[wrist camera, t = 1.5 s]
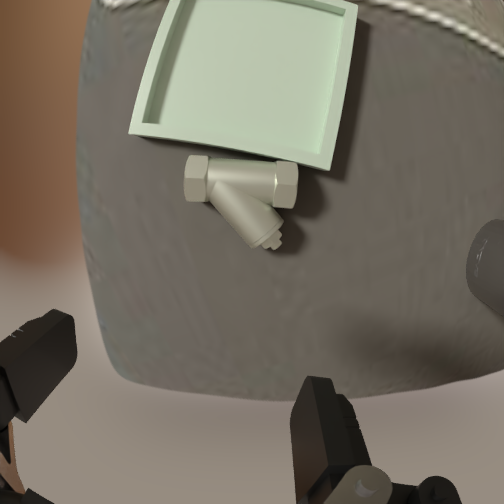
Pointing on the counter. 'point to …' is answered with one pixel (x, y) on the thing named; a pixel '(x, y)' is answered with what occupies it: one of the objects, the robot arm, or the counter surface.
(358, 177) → the counter surface
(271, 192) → the pipe fitting
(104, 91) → the counter surface
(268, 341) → the counter surface
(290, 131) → the tray
